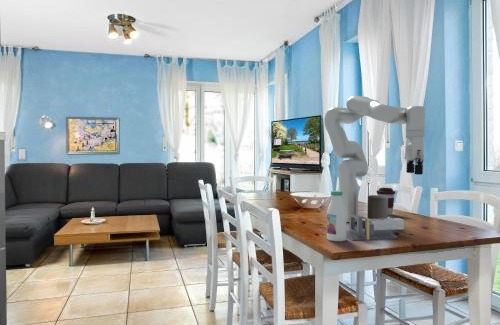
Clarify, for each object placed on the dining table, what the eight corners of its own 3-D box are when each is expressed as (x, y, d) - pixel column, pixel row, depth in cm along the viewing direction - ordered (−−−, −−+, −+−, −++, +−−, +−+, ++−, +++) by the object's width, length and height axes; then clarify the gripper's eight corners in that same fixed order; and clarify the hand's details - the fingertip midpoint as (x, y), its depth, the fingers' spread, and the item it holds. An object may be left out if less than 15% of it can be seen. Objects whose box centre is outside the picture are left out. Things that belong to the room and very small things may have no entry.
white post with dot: (368, 228, 158) (368, 218, 158) (398, 227, 160) (398, 217, 160) (372, 230, 154) (372, 220, 154) (403, 229, 156) (403, 219, 156)
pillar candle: (365, 224, 181) (366, 194, 181) (369, 220, 190) (369, 192, 189) (386, 226, 177) (387, 195, 176) (389, 222, 186) (389, 193, 185)
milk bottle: (343, 237, 155) (343, 189, 154) (348, 241, 147) (348, 191, 147) (324, 237, 155) (325, 190, 154) (329, 241, 147) (329, 192, 146)
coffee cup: (372, 213, 212) (372, 187, 211) (385, 212, 216) (385, 186, 216) (385, 216, 203) (385, 189, 202) (398, 215, 207) (399, 188, 207)
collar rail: (341, 233, 161) (341, 212, 161) (383, 232, 164) (383, 211, 163) (352, 240, 149) (352, 218, 149) (397, 238, 152) (398, 216, 151)
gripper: (399, 135, 170) (399, 172, 171) (413, 133, 153) (412, 175, 154) (416, 135, 170) (415, 172, 170) (432, 133, 152) (431, 175, 153)
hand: (414, 173), depth 162 cm, fingers open, 9 cm apart
